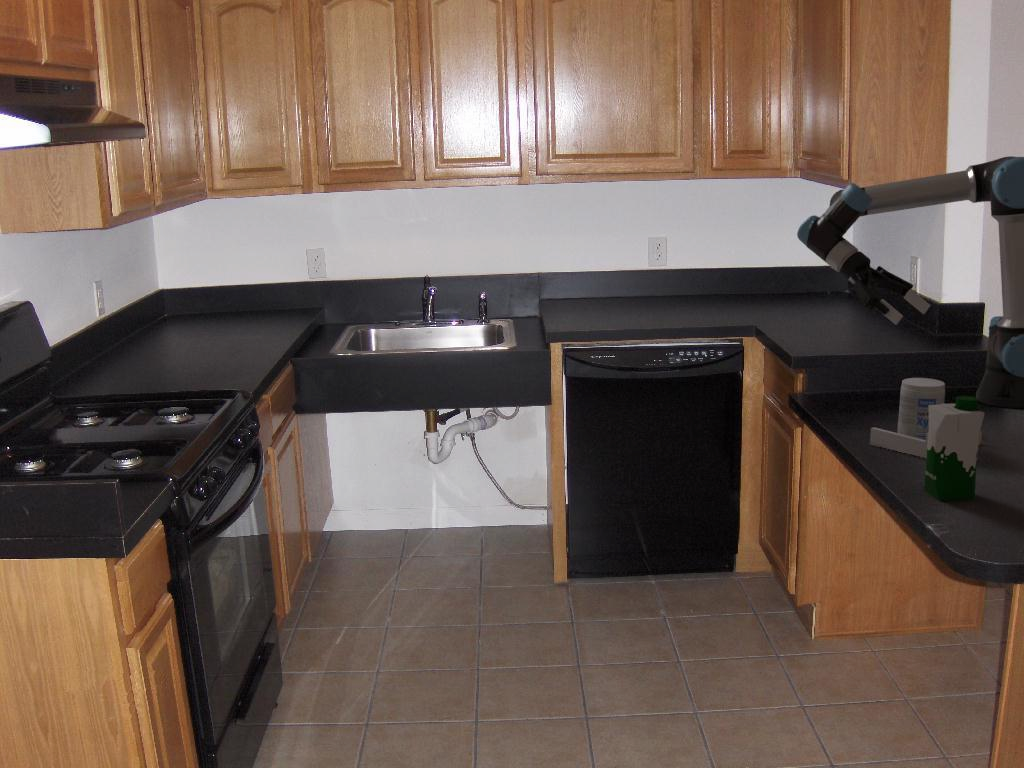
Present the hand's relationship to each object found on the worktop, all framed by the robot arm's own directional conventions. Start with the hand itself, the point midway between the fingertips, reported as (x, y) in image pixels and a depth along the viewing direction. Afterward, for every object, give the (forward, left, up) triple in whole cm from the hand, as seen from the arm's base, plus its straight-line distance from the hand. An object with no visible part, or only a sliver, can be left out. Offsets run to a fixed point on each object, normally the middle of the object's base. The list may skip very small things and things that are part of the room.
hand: (913, 315), depth 253 cm
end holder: (+9, +18, -27) cm, 34 cm away
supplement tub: (+9, +18, -27) cm, 33 cm away
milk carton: (+24, +48, -28) cm, 60 cm away
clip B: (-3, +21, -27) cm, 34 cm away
